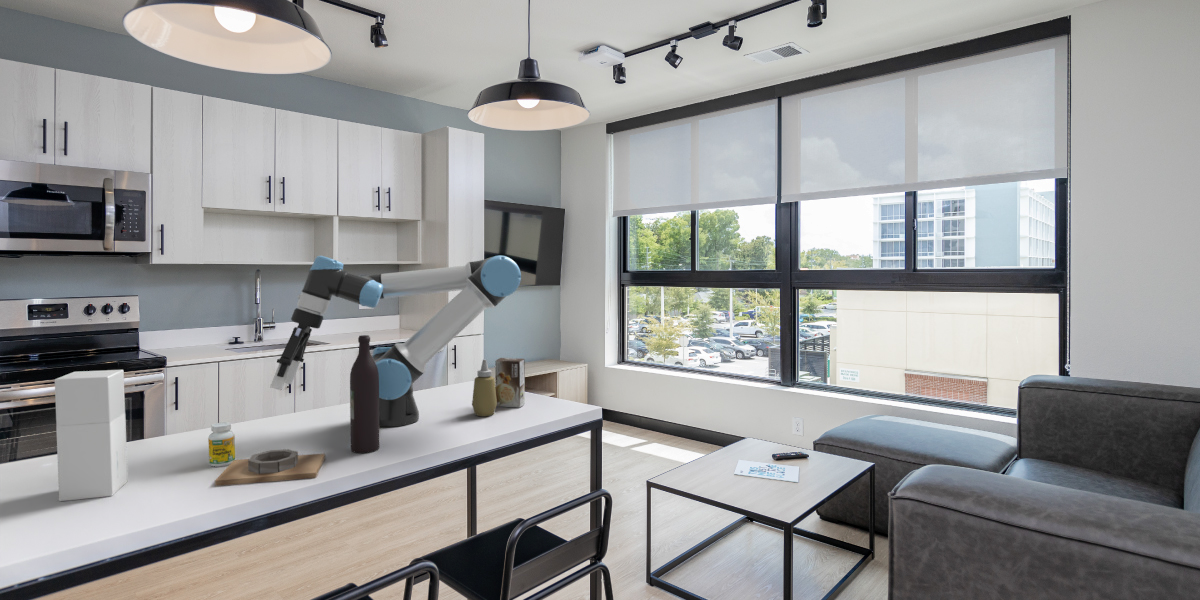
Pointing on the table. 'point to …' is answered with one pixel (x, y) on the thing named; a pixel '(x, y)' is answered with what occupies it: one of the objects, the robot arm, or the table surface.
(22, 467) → the table surface
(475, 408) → the squeeze bottle
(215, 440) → the supplement bottle
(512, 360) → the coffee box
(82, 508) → the table surface
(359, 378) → the wine bottle
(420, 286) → the robot arm
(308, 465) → the board
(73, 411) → the tall white carton
